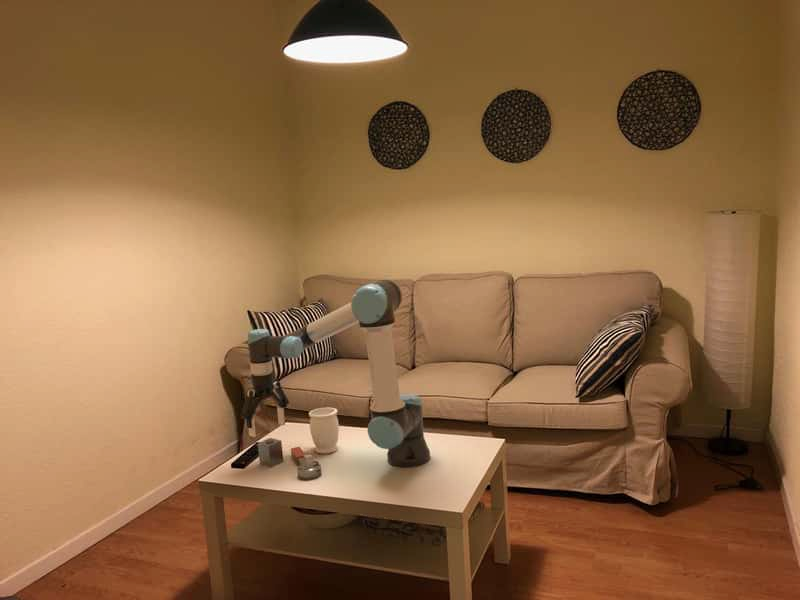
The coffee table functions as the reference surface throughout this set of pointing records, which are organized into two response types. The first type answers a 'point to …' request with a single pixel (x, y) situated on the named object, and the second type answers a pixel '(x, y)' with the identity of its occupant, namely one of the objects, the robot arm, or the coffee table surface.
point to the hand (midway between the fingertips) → (267, 430)
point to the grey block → (270, 452)
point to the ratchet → (306, 465)
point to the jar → (324, 429)
